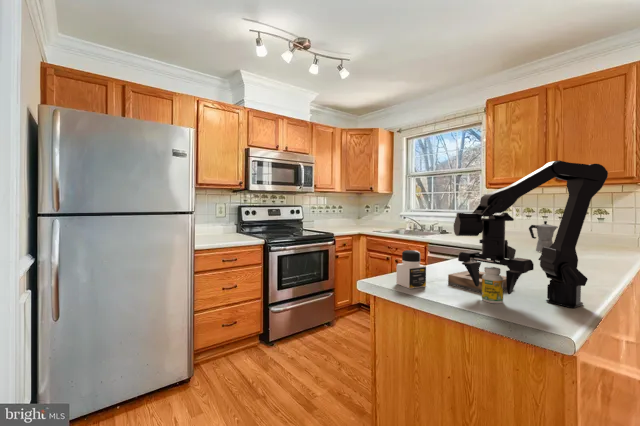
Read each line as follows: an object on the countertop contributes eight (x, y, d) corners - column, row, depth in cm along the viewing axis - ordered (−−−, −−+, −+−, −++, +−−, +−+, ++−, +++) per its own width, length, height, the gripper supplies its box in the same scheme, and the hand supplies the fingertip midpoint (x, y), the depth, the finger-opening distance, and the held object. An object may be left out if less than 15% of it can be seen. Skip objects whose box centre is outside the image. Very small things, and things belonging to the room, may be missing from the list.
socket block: (511, 288, 101) (511, 277, 101) (488, 294, 94) (488, 283, 93) (471, 279, 113) (471, 269, 113) (448, 284, 105) (448, 274, 105)
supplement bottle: (502, 299, 89) (503, 267, 88) (503, 305, 84) (503, 270, 84) (481, 297, 91) (482, 265, 91) (481, 302, 87) (481, 268, 86)
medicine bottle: (409, 289, 100) (409, 253, 99) (395, 283, 106) (396, 250, 106) (426, 286, 102) (426, 251, 102) (412, 281, 109) (412, 248, 109)
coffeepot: (552, 250, 184) (553, 220, 183) (562, 252, 175) (562, 221, 174) (524, 249, 187) (525, 220, 186) (532, 251, 178) (533, 221, 177)
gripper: (543, 237, 83) (542, 293, 84) (478, 232, 99) (477, 279, 100) (523, 240, 77) (522, 300, 78) (457, 234, 93) (456, 284, 94)
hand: (492, 290), depth 87 cm, fingers open, 9 cm apart
